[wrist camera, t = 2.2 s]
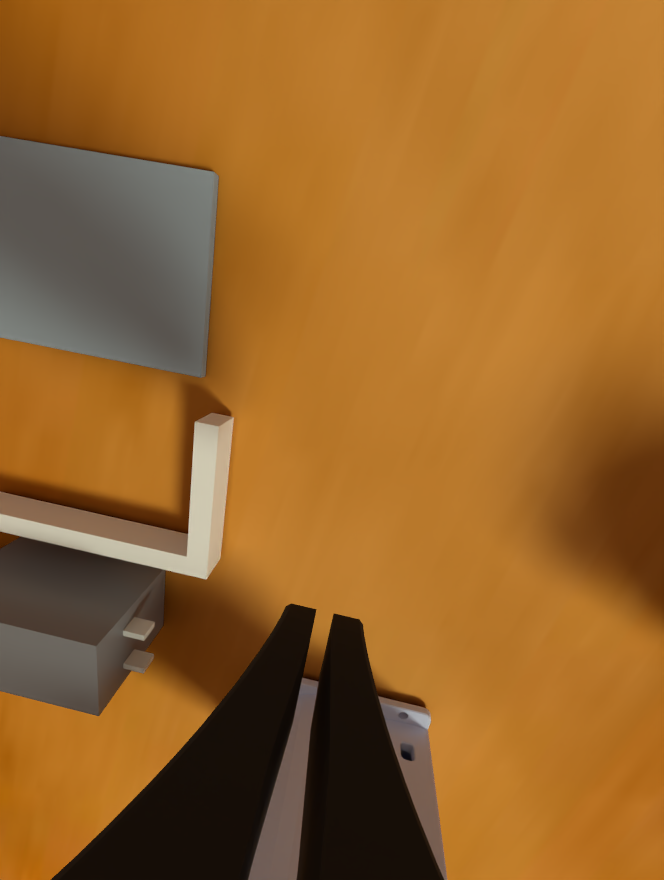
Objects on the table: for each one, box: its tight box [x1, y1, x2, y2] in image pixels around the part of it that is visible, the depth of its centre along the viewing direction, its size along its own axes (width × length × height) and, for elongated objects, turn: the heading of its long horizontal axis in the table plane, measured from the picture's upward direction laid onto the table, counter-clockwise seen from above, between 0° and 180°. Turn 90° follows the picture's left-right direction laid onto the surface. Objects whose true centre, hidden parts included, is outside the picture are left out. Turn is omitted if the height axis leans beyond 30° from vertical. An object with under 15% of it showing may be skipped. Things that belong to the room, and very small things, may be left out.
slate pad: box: [0, 136, 219, 378], centre depth 15 cm, size 11×8×1 cm
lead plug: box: [0, 536, 165, 716], centre depth 18 cm, size 14×4×5 cm, turn 80°
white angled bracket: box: [0, 413, 234, 579], centre depth 17 cm, size 12×8×2 cm, turn 80°
